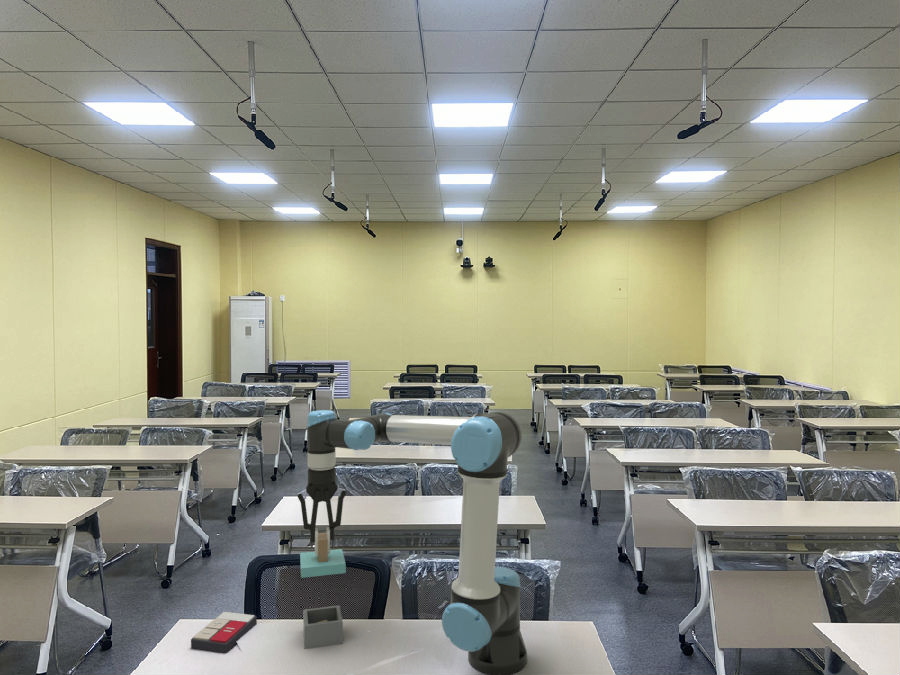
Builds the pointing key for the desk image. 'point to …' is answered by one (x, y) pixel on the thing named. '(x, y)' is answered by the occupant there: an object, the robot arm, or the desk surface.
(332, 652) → the desk surface
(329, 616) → the storage box
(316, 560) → the lid
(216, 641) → the calculator
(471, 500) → the robot arm
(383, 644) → the desk surface
